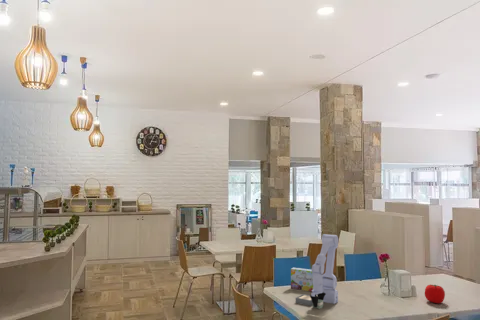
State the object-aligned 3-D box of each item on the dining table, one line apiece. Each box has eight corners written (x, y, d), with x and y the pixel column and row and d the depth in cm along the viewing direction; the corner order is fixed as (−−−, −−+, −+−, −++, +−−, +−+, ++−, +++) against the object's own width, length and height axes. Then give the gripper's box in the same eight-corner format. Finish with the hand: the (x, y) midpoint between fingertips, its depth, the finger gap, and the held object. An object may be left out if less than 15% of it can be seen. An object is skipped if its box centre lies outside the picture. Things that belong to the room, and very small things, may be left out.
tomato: (434, 305, 259) (433, 287, 260) (419, 300, 272) (419, 282, 273) (449, 304, 262) (449, 286, 263) (434, 298, 275) (434, 281, 276)
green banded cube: (323, 308, 252) (323, 300, 252) (319, 310, 248) (319, 301, 248) (316, 306, 255) (316, 298, 255) (312, 308, 251) (312, 300, 251)
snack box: (290, 288, 299) (290, 268, 300) (293, 287, 304) (293, 267, 305) (318, 292, 289) (318, 271, 290) (320, 290, 294) (320, 270, 295)
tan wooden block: (315, 302, 262) (315, 297, 263) (310, 305, 256) (310, 300, 256) (304, 299, 267) (304, 295, 268) (298, 302, 261) (298, 297, 261)
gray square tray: (318, 303, 263) (318, 296, 263) (311, 307, 254) (311, 300, 254) (303, 300, 269) (303, 294, 269) (295, 304, 260) (295, 297, 261)
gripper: (317, 280, 261) (317, 302, 260) (306, 284, 249) (306, 307, 248) (327, 282, 257) (327, 303, 256) (317, 286, 245) (317, 309, 244)
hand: (317, 305), depth 252 cm, fingers open, 7 cm apart
